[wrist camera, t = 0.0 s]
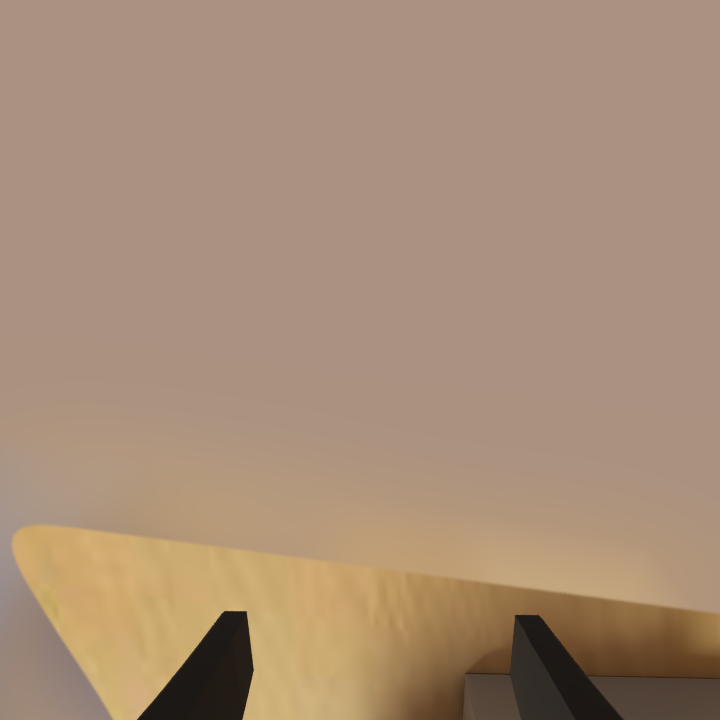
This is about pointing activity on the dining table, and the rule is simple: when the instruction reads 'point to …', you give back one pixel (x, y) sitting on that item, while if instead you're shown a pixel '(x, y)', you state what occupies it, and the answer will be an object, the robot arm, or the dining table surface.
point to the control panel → (626, 694)
